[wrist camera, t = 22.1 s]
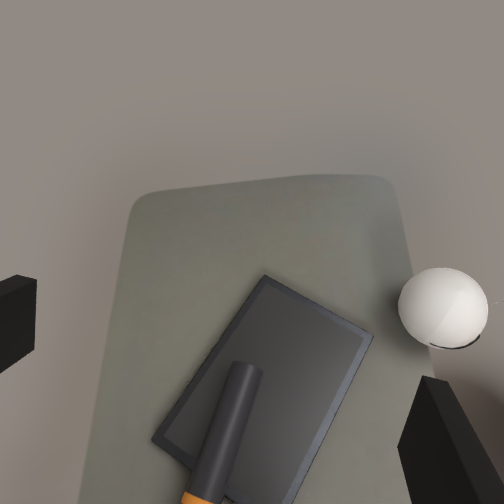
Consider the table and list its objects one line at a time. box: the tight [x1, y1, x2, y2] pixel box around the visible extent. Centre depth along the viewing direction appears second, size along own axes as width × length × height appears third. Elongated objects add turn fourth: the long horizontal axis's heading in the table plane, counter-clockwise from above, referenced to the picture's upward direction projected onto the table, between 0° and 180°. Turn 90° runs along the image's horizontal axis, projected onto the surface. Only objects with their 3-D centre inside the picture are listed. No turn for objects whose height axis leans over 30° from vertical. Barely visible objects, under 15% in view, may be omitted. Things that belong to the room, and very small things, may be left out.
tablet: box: [152, 275, 374, 504], centre depth 36 cm, size 12×18×1 cm, turn 148°
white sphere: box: [398, 267, 488, 350], centre depth 36 cm, size 10×7×7 cm
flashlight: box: [181, 361, 263, 504], centre depth 32 cm, size 3×3×12 cm
